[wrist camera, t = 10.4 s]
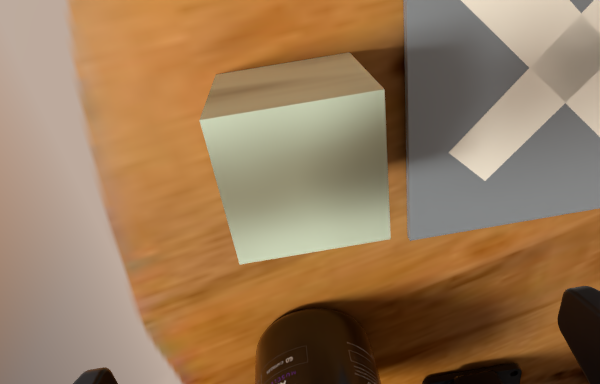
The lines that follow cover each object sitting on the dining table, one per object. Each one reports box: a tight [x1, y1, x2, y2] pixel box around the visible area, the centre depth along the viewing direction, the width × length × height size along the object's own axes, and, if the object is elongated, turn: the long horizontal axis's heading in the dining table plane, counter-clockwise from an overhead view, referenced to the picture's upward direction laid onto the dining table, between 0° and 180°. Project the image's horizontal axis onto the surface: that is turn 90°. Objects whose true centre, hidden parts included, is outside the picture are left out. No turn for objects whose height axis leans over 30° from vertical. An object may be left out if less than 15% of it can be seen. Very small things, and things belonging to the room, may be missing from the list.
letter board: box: [404, 0, 600, 241], centre depth 18 cm, size 16×14×1 cm
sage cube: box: [200, 52, 391, 264], centre depth 16 cm, size 6×6×6 cm
